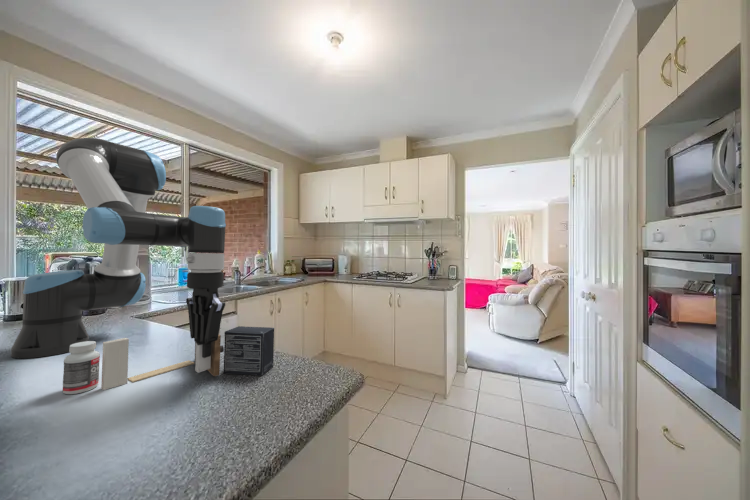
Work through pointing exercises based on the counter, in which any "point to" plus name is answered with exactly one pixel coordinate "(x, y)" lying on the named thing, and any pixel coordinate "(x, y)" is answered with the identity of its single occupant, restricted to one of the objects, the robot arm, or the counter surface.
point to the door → (215, 357)
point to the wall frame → (126, 364)
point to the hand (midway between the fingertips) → (202, 369)
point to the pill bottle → (81, 368)
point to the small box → (248, 350)
